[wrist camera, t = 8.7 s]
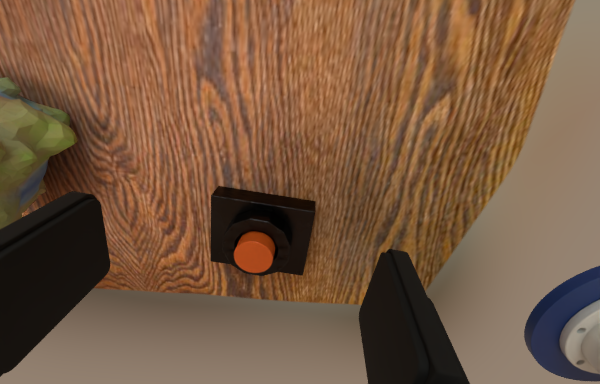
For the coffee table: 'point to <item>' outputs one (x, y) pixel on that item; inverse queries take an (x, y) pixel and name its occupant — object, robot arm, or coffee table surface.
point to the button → (254, 252)
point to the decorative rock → (26, 148)
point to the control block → (261, 226)
